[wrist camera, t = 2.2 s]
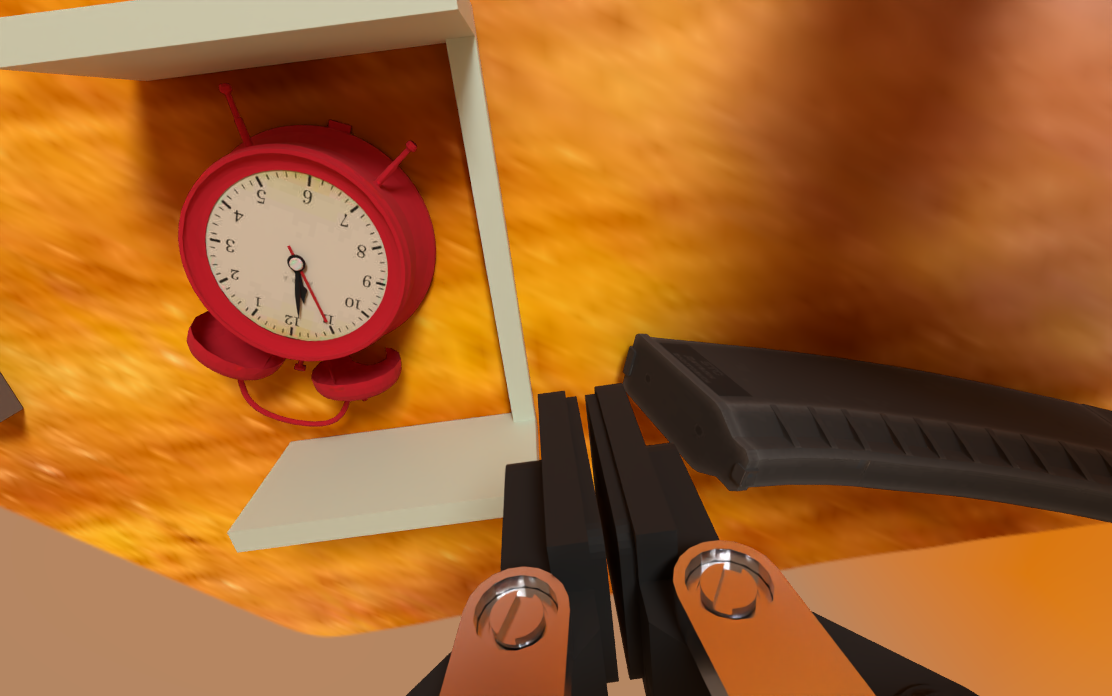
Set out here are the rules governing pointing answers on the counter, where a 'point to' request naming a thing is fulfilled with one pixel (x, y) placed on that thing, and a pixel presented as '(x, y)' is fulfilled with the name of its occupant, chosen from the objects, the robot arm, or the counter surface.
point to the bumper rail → (7, 401)
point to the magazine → (869, 427)
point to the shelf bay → (447, 17)
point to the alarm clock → (304, 258)
